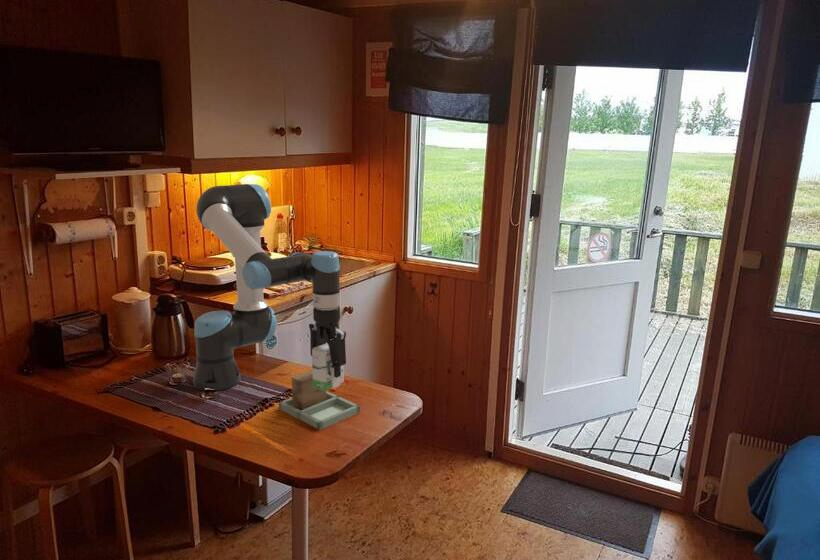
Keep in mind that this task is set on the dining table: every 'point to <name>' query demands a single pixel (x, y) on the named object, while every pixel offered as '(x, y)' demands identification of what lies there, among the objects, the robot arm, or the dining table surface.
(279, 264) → the robot arm
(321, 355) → the ink box
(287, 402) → the slot board
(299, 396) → the walnut block
